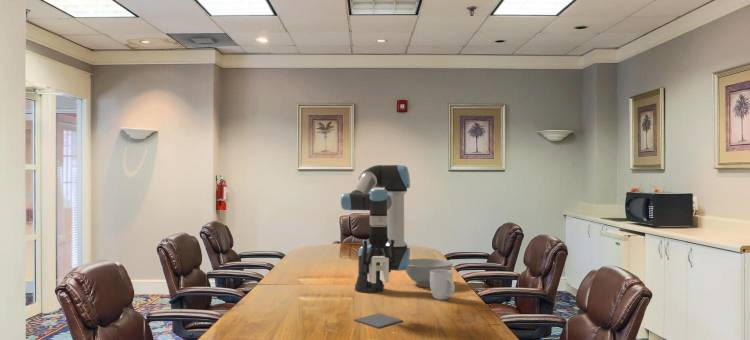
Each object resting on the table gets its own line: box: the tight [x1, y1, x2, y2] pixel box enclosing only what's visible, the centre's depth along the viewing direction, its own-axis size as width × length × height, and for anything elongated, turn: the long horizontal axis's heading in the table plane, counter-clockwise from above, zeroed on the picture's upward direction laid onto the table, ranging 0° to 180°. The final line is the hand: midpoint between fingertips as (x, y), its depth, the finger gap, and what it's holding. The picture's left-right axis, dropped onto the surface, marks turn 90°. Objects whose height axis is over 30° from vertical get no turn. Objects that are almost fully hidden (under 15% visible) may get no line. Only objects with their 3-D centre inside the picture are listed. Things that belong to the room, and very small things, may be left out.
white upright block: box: [370, 256, 390, 283], centre depth 215 cm, size 7×7×10 cm
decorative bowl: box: [404, 258, 454, 288], centre depth 279 cm, size 27×27×12 cm
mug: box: [429, 269, 456, 301], centre depth 246 cm, size 15×11×13 cm
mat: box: [353, 313, 404, 329], centre depth 209 cm, size 14×14×1 cm
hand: (378, 280), depth 215 cm, fingers closed on white upright block, 7 cm apart
